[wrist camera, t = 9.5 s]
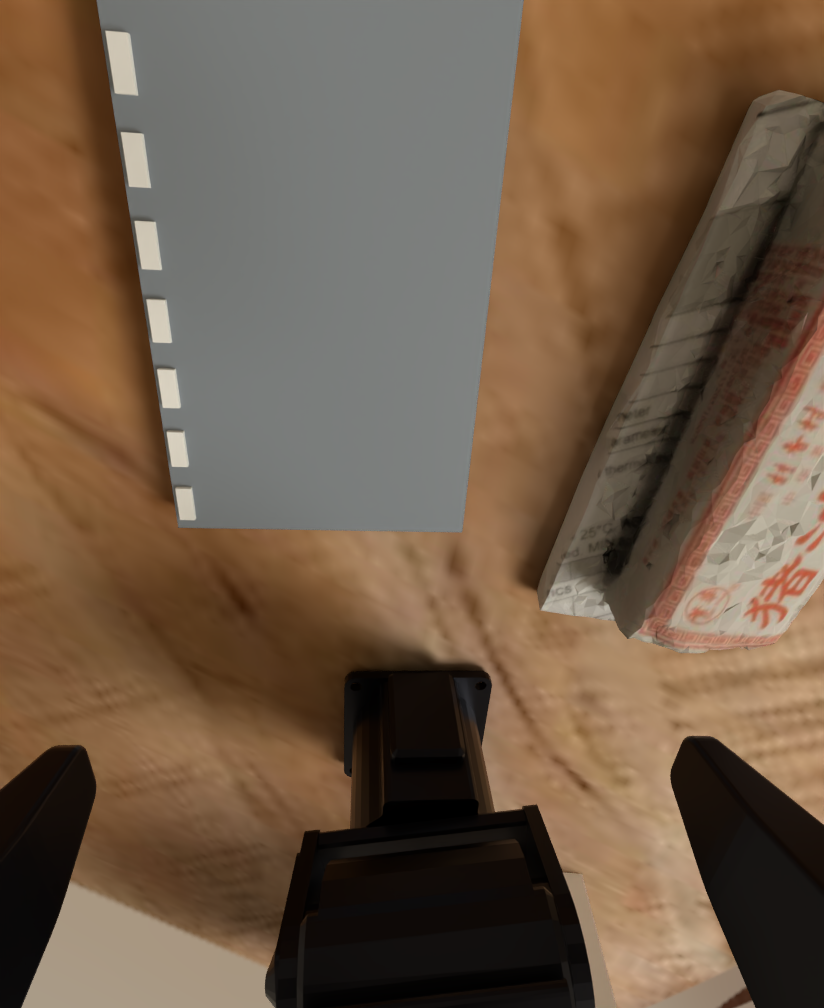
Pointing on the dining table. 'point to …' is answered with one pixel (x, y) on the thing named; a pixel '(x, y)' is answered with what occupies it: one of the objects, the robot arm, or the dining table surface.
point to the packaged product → (717, 419)
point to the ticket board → (315, 247)
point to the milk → (591, 942)
